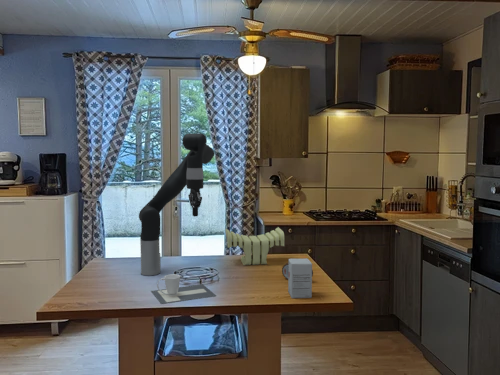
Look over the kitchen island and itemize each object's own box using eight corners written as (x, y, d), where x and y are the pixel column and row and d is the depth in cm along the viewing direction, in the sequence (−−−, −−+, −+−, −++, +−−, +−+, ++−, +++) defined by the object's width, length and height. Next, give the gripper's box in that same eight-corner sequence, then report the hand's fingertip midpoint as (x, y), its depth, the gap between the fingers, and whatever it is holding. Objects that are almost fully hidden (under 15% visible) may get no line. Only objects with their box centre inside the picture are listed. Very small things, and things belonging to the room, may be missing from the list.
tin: (313, 281, 220) (313, 264, 219) (311, 283, 217) (311, 265, 216) (283, 277, 226) (283, 260, 225) (281, 279, 223) (281, 262, 222)
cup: (179, 297, 196) (179, 278, 195) (155, 297, 196) (155, 278, 195) (181, 292, 203) (181, 274, 202) (159, 291, 203) (158, 273, 202)
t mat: (202, 284, 214) (202, 284, 214) (216, 296, 198) (216, 295, 198) (150, 291, 204) (150, 290, 204) (161, 304, 188) (161, 303, 188)
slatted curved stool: (228, 267, 244) (228, 233, 242) (225, 259, 260) (225, 228, 258) (284, 265, 248) (284, 232, 247) (278, 257, 264) (278, 227, 262)
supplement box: (287, 291, 204) (288, 258, 203) (307, 291, 205) (308, 258, 204) (291, 298, 195) (291, 263, 194) (312, 298, 196) (312, 263, 195)
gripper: (207, 178, 204) (208, 217, 206) (198, 176, 216) (198, 213, 218) (191, 179, 201) (191, 218, 203) (182, 177, 213) (182, 214, 215)
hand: (195, 216), depth 210 cm, fingers closed
